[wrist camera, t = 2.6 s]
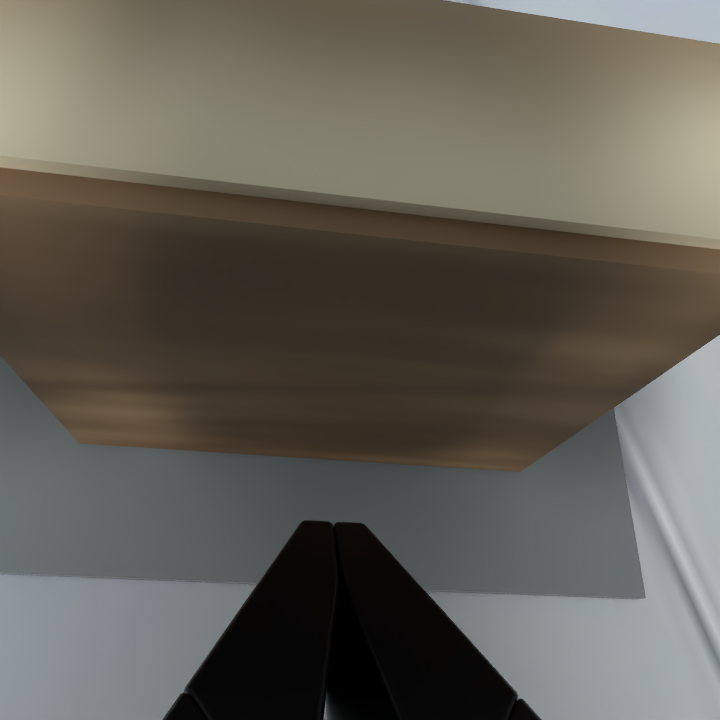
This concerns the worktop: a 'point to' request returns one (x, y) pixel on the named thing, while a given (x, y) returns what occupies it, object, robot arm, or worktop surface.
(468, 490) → the rubber mat
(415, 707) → the robot arm
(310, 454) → the maple slab
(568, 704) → the worktop surface
